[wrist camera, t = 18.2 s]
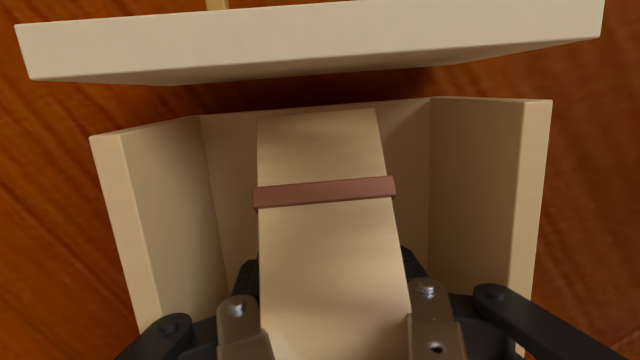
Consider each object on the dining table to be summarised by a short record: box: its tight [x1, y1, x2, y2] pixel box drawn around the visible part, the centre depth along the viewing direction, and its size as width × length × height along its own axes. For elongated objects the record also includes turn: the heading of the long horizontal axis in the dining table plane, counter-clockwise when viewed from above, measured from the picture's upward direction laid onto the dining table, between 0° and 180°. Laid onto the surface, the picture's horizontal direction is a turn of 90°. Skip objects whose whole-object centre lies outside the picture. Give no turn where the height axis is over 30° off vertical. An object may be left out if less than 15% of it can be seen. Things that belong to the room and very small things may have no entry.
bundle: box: [252, 108, 412, 360], centre depth 11 cm, size 4×4×12 cm
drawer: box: [14, 0, 605, 358], centre depth 13 cm, size 21×14×8 cm, turn 4°
